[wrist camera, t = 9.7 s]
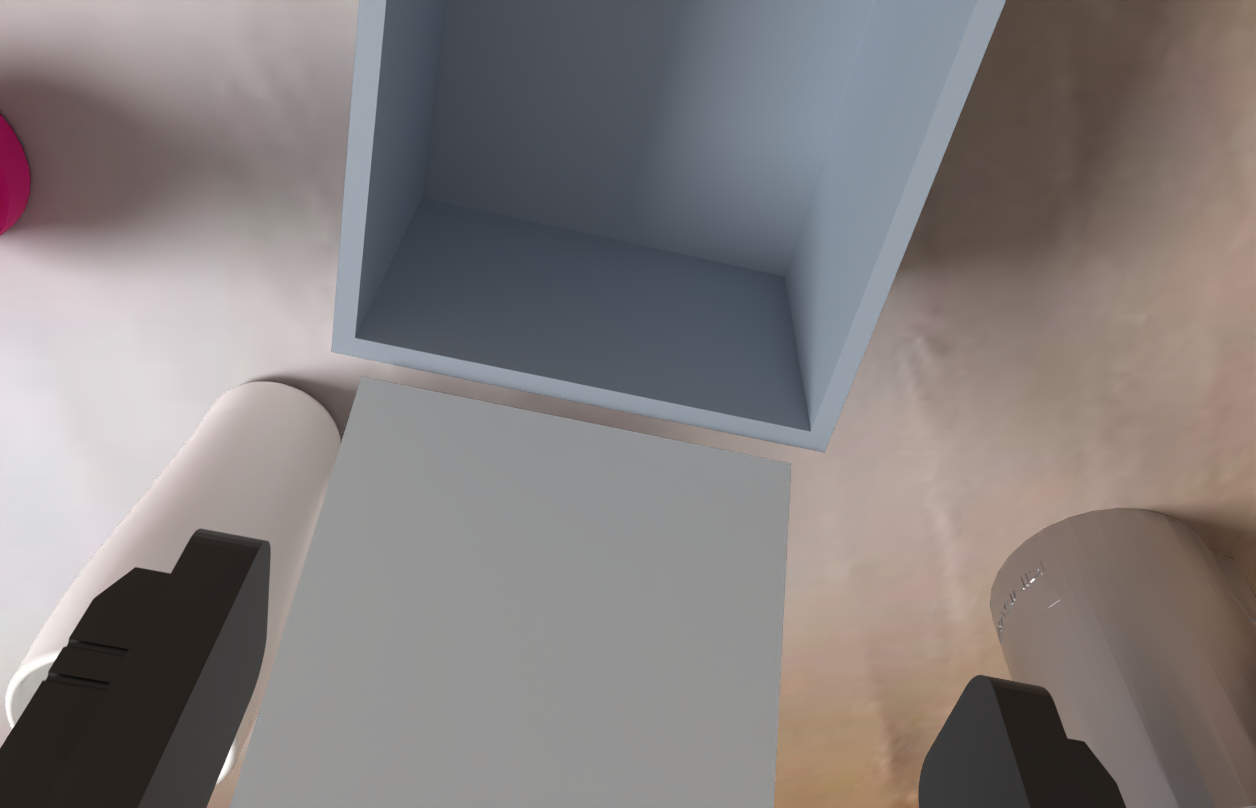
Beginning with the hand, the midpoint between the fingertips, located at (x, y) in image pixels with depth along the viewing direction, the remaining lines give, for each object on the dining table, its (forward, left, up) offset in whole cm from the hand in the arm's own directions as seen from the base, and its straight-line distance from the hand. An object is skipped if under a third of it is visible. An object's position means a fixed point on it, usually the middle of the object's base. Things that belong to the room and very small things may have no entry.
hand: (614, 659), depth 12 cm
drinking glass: (+11, +19, -27) cm, 35 cm away
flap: (0, +8, -17) cm, 18 cm away
